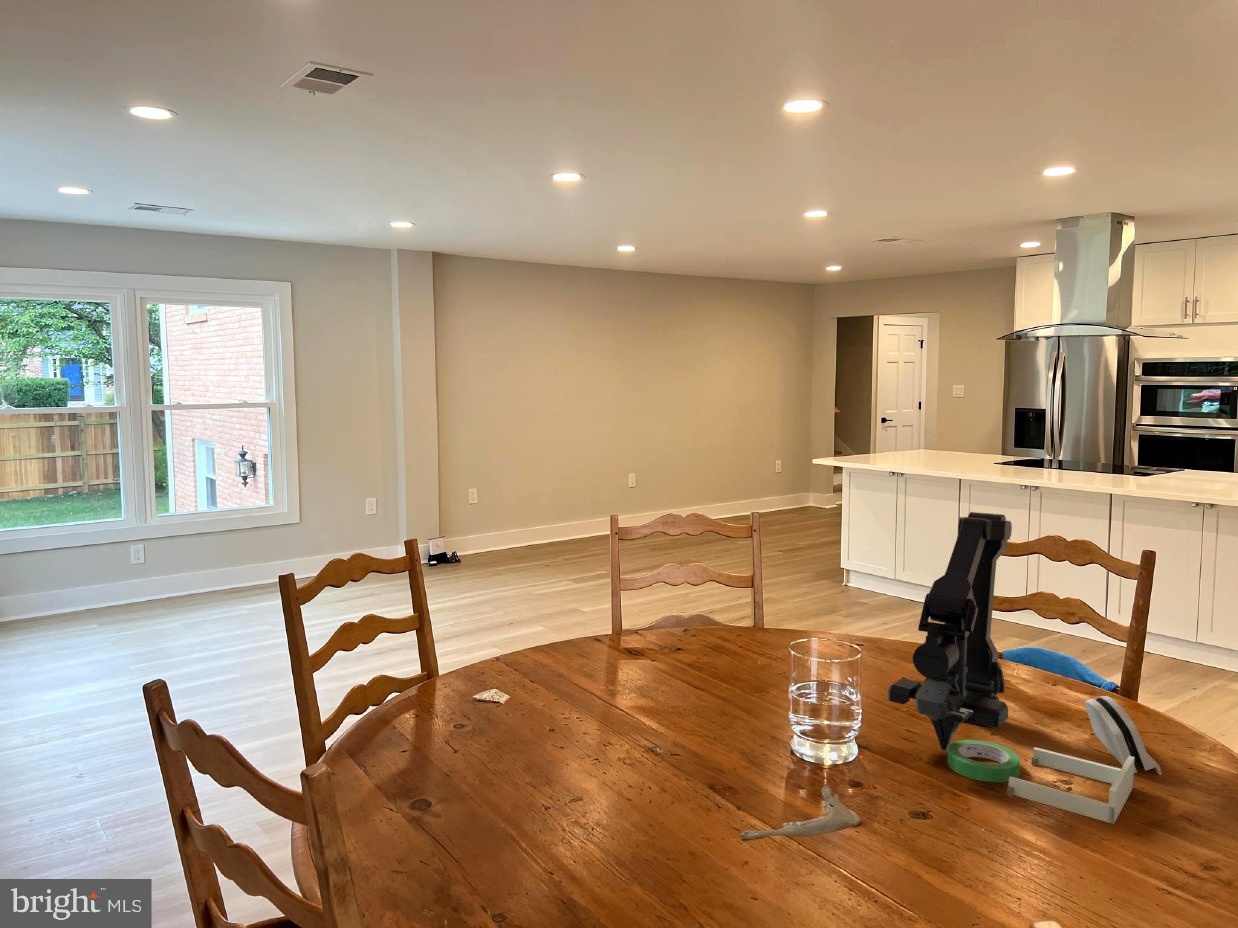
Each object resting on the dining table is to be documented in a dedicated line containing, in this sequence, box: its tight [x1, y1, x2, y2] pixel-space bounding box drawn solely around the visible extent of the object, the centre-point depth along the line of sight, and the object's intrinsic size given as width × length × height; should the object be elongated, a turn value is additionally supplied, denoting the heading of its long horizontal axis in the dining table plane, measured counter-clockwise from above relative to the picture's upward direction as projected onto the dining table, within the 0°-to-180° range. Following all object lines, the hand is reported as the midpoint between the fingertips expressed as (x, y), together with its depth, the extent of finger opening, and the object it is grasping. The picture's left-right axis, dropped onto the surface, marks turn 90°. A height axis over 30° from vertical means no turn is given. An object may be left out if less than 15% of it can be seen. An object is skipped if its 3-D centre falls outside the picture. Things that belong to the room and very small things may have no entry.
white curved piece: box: [1083, 695, 1163, 776], centre depth 148 cm, size 17×5×10 cm, turn 169°
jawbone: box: [740, 785, 862, 840], centre depth 124 cm, size 9×20×2 cm, turn 130°
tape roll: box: [947, 739, 1021, 783], centre depth 143 cm, size 11×11×3 cm
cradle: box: [1006, 746, 1135, 825], centre depth 134 cm, size 15×16×5 cm
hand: (944, 749), depth 147 cm, fingers closed
